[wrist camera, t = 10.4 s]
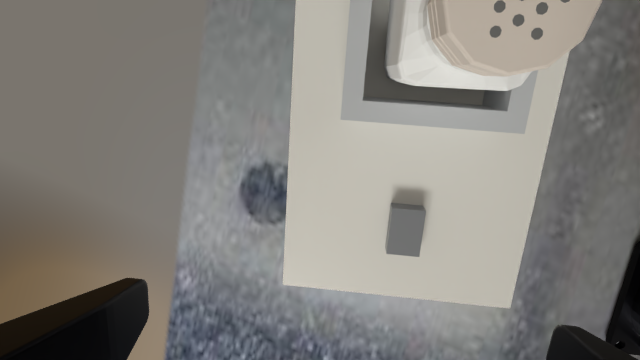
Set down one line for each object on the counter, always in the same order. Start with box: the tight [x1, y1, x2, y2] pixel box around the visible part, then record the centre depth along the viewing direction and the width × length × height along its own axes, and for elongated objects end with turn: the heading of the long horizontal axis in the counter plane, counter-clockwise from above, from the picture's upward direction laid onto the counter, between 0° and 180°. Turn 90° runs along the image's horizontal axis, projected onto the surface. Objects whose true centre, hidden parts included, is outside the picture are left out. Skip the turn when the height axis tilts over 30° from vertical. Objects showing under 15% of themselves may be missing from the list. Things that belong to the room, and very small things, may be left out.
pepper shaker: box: [384, 0, 602, 91], centre depth 12 cm, size 4×4×10 cm
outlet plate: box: [283, 0, 570, 308], centre depth 17 cm, size 18×12×4 cm, turn 176°
